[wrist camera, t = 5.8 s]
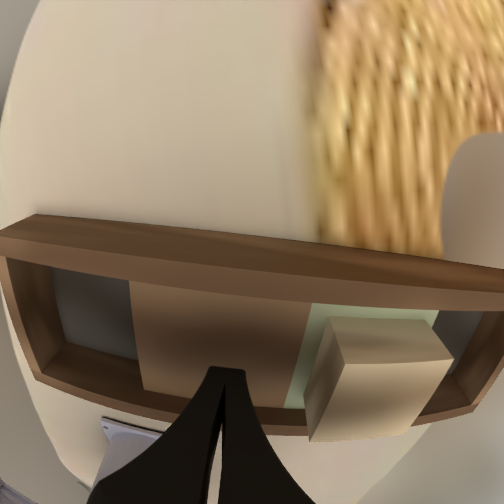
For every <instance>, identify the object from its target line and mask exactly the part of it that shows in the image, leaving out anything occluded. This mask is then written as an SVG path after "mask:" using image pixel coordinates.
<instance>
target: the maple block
mask: <svg viewBox="0 0 504 504" xmlns="http://www.w3.org/2000/svg"><path fill="white" fill-rule="evenodd" d="M453 360H454V358H453V357H452V355H451V354H450V352H449V351H448V350H447V348H446V347H445V346H444V344H443V343H442V342H441V340H440V339H439V338H438V336H437V335H436V334H435V332H434V331H433V330H432V328H431V327H430V326H429V324H428V323H427V322H426V321H425V320H410V319H379V318H358V317H341V316H328V319H327V323H326V326H325V330H324V333H323V336H322V340H321V343H320V346H319V349H318V353H317V356H316V359H315V362H314V365H313V368H312V371H311V374H310V377H309V380H308V383H307V386H306V389H305V392H304V394H303V398H304V405H305V412H306V420H307V427H308V435H309V442H332V441H347V440H359V439H369V438H377V437H385V436H392V435H398V434H404V433H405V432H406V431H407V430H408V428H409V427H410V426H411V425H412V423H413V422H414V421H415V419H416V418H417V416H418V415H419V414H420V412H421V411H422V409H423V408H424V407H425V405H426V404H427V402H428V401H429V399H430V398H431V396H432V395H433V393H434V392H435V390H436V389H437V387H438V386H439V384H440V382H441V381H442V379H443V378H444V376H445V374H446V373H447V371H448V369H449V367H450V366H451V364H452V362H453Z"/></svg>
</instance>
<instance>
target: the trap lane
mask: <svg viewBox="0 0 504 504" xmlns="http://www.w3.org/2000/svg"><path fill="white" fill-rule="evenodd" d="M0 282H1V286H2V289H3V293H4V297H5V300H6V304H7V307H8V310H9V314H10V317H11V320H12V323H13V326H14V329H15V331H16V334H17V337H18V340H19V342H20V345H21V347H22V350H23V352H24V355H25V357H26V360H27V362H28V364H29V367H30V369H31V371H32V373H33V376H34V378H35V380H37V381H39V382H42V383H44V384H46V385H49V386H51V387H53V388H56V389H58V390H61V391H63V392H66V393H69V394H71V395H74V396H77V397H79V398H82V399H85V400H88V401H91V402H94V403H97V404H100V405H103V406H106V407H110V408H113V409H116V410H120V411H123V412H127V413H131V414H135V415H138V416H142V417H147V418H151V419H155V420H160V421H164V422H169V423H173V422H174V421H175V420H176V419H177V418H178V416H179V415H180V414H181V413H182V411H183V410H184V409H185V407H186V406H187V405H188V403H189V402H190V400H191V399H192V397H193V396H194V394H195V393H196V391H197V390H198V388H199V386H200V385H201V383H202V381H203V379H204V377H205V375H206V373H207V371H208V368H209V367H210V366H219V367H227V368H236V369H243V370H244V371H246V380H247V385H248V390H249V393H250V397H251V400H252V403H253V406H254V409H255V412H256V415H257V417H258V420H259V422H260V424H261V427H262V429H263V431H264V433H265V435H284V436H309V435H308V427H307V420H306V412H305V405H304V398H303V394H304V392H305V389H306V386H307V383H308V380H309V377H310V374H311V371H312V368H313V365H314V362H315V359H316V356H317V353H318V349H319V346H320V343H321V340H322V336H323V333H324V330H325V326H326V323H327V319H328V316H341V317H358V318H379V319H410V320H425V321H426V322H427V323H428V324H429V326H430V327H431V328H432V330H433V331H434V332H435V334H436V335H437V336H438V338H439V339H440V340H441V342H442V343H443V344H444V346H445V347H446V348H447V350H448V351H449V352H450V354H451V355H452V357H453V358H454V360H453V362H452V364H451V366H450V367H449V369H448V371H447V373H446V374H445V376H444V378H443V379H442V381H441V382H440V384H439V386H438V387H437V389H436V390H435V392H434V393H433V395H432V396H431V398H430V399H429V401H428V402H427V404H426V405H425V407H424V408H423V409H422V411H421V412H420V414H419V415H418V416H417V418H416V419H415V421H414V422H413V423H412V425H411V426H416V425H422V424H427V423H431V422H436V421H440V420H444V419H448V418H453V417H457V416H460V415H464V414H467V413H471V412H473V411H474V409H475V408H476V407H477V406H478V404H479V403H480V401H481V400H482V399H483V397H484V396H485V395H486V393H487V392H488V390H489V389H490V387H491V386H492V384H493V383H494V381H495V380H496V378H497V377H498V375H499V373H500V372H501V370H502V369H503V367H504V269H498V268H491V267H485V266H479V265H472V264H465V263H459V262H452V261H445V260H438V259H431V258H424V257H417V256H410V255H403V254H396V253H388V252H381V251H373V250H366V249H358V248H351V247H343V246H335V245H327V244H319V243H311V242H303V241H295V240H286V239H278V238H269V237H261V236H252V235H243V234H235V233H226V232H217V231H207V230H198V229H189V228H179V227H169V226H160V225H150V224H139V223H129V222H119V221H108V220H97V219H86V218H74V217H63V216H51V215H38V214H34V215H32V216H30V217H27V218H25V219H23V220H21V221H19V222H16V223H14V224H12V225H10V226H8V227H6V228H4V229H2V230H0ZM411 426H410V427H411ZM220 431H222V425H221V429H220Z"/></svg>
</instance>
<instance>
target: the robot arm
mask: <svg viewBox="0 0 504 504" xmlns="http://www.w3.org/2000/svg"><path fill="white" fill-rule="evenodd" d="M99 423H100V425H101V427H102V429H103V431H104V433H105V435H106V437H107V439H108V441H109V446H108V448H107V451H106V453H105V456H104V458H103V461H102V463H101V466H100V468H99V471H98V474H97V476H96V479H95V481H94V484H93V487H92V489H91V492H90V495H89V498H88V501H87V503H86V504H207V499H208V490H209V482H210V474H211V468H212V463H213V459H214V455H215V451H216V446H217V442H218V438H219V433H220V429H221V425H222V470H221V479H220V488H219V498H218V504H316V503H315V502H313V501H312V500H311V498H310V497H309V496H308V495H307V494H306V493H305V492H304V491H303V490H302V489H301V488H300V486H299V485H298V484H297V483H296V482H295V480H294V479H293V478H292V476H291V475H290V474H289V472H288V471H287V470H286V468H285V467H284V466H283V464H282V463H281V461H280V460H279V458H278V457H277V455H276V453H275V452H274V450H273V448H272V446H271V445H270V443H269V441H268V439H267V437H266V435H265V433H264V431H263V429H262V427H261V424H260V422H259V420H258V417H257V415H256V412H255V409H254V406H253V403H252V400H251V397H250V393H249V390H248V385H247V380H246V371H244V370H243V369H236V368H227V367H219V366H210V367H209V368H208V371H207V373H206V375H205V377H204V379H203V381H202V383H201V385H200V386H199V388H198V390H197V391H196V393H195V394H194V396H193V397H192V399H191V400H190V402H189V403H188V405H187V406H186V407H185V409H184V410H183V411H182V413H181V414H180V415H179V416H178V418H177V419H176V420H175V421H174V422H173V424H172V425H171V426H170V427H169V428H168V429H167V430H166V431H165V432H164V433H163V434H162V433H157V432H153V431H148V430H144V429H140V428H137V427H133V426H129V425H125V424H122V423H119V422H115V421H112V420H109V419H106V418H101V419H100V421H99ZM0 504H37V503H35V502H34V501H32V500H30V499H29V498H27V497H26V496H24V495H22V494H21V493H19V492H18V491H16V490H15V489H13V488H12V487H10V486H9V485H7V484H6V483H5V482H3V480H2V479H1V478H0Z"/></svg>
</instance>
